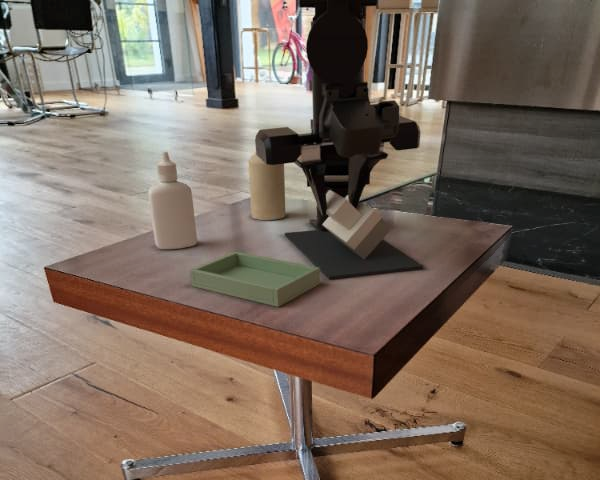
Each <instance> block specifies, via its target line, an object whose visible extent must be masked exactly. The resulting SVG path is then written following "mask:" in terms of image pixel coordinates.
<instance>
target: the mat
mask: <svg viewBox="0 0 600 480" xmlns="http://www.w3.org/2000/svg"><path fill="white" fill-rule="evenodd" d="M284 237H285V238H287V239H288V241H289V242H290V243H292V245H294V246H295V248H297V249H298V250H299V252H301V253H302V254H303V255H304V256H305V257H306V258H307V259H308V260H309V261H310V262H311V264H313V265H314V267H318V268H320V273H322V274H323V275H324V276H325V277H326V278H327V280H338V279H345V278H346V279H347V278H355V277H363V276H371V275H380V274H388V273H389V274H390V273H398V272H407V271H415V270H423V269H424V265H423V264H422V263H420V262H419V261H417V260H415V259H414V258H412V257H411V256H409V255H408V254H406V253H405V252H403V251H402V250H400V249H399V248H397V247H395V246H394V245H393V244H391V243H389V242H387V240H385V239H384V238H383V239H382V240H381V242H380V243H379V244H378V245H377V246H376V247H375V248H374V249H373V251H372V252H371V253H370V254H369V255H368V256H367V257H366V259H365V260H364V259H362V258H361V257H360V256H358V255H357V254H356V253H354V252H353V251H352V250H350V249H349V248H348V247H347V246H345V245H344V244H343V243H341V242H340V241H339V240H338V239H337V238H336V237H335V236H334V235H332V234H331V233H330V232H329V231H320V230H317V229H314V230H313V229H311V230H302V231H301V230H300V231H291V232H284Z"/></svg>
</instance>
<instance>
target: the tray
mask: <svg viewBox="0 0 600 480" xmlns="http://www.w3.org/2000/svg"><path fill="white" fill-rule="evenodd" d="M189 277H190V285H191V287H194V288H199V289H203V290H206V291H210V292H215V293H218V294H219V293H220V294H223V295H226V296H231V297H235V298H239V299H244V300H247V301H251V302H256V303H260V304H264V305H268V306H273V307H276V308H280V307H281V306H283V305H285V304H286V303H289V302H290V301H291V300H294V299H295V298H298V297H300V296H301V295H303V294H305V293H307V292H308V291H310V290H312V289H314V288H315V287H317V286H319V285H321V271H320V268H318V267H316V266H312V265H307V264H302V263H297V262H292V261H286V260H281V259H276V258H272V257H271V258H270V257H266V256H261V255H257V254H250V253H245V252H240V251H234V252H231V253H228V254H226V255H224V256H221V257H218V258H216V259H213V260H211V261H209V262H206V263H204V264H201V265H198V266H196V267H194V268H191V269H189Z"/></svg>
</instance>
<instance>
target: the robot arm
mask: <svg viewBox="0 0 600 480" xmlns="http://www.w3.org/2000/svg"><path fill="white" fill-rule="evenodd" d="M298 6H299V7H298V8H299V9H307V8H308V9H309V8H312V9H313V8H314V15H313V17H312V18H311V19H312V21H310V29H309V31H308V34H307V39H306V45H305V51H306V58H307V61H308V63H309V64H308V65H309V67H310V68H311V79H309V80H308V81H309V91H311V93H312V95H311V96H312V98H311V99H312V119H310V130H311V131H310V132H305V133H297V132H296V131H294V130H293V129H291V128H290V127H289V126H283V127H273V128H264V129H259V130H258V132H257V133H256V135H255V139H254V142H255V143H254V144H255V152H256V155H257V156H258V157H259V158H260V159H261V160H262V161H263V162H265V163H266V164H267V165H277V164H284V165H287V164H293V163H294V164H295V165H296V166H297V167H299V169H301V170H302V172H303V174H304V176H305V177H306V187H307V188H310V189H311V192H312V195H313V198H314V200H315V202H316V218H315V219H314V218H313V219H309V224H310V225H311V226H312V227H314V229H315V230H320V231H328V230H327V229H326V228H325V227H324V226H323V225H322V224H323V223H324V222H325V221H326V220H327V218H328V217H329V216H328V215H327V214H326V211H327V201H326V193H327V192H328V191H329V190H331V191H333V192H334V193H336V194H338V195H340V196H341V197H343V198H345V197H346V196H347V195H348V199H349V202H350V203H351V204H352V206H353V207H354V208H355V209H356V208H357V205H358V203H359V202H360V200H361V196H362V195H363V192H364V188H366V186H367V185H370V183H371V172H372V170H373V169H374V167H376V165H377V164H378V163H379V162H380V161H382V160H386V159H387V158H388V157H389V153H387V152H386V151H384V147H385V143H389V145H390V146H391V147H392V148H393V149H394V150H395V151H397V152H398V151H406V150H415V149H418V148H420V144H421V129H420V125H419V124H418V122H417V121H416V120H414V119H410V118H408V117H405V116H402V115H400V105H399V104H398V103H397V101H396V100H382V101H378V103H373V104H371V101H370V97H369V91H370V89H369V85H368V84H369V82H368V81H365V80H364V78H365V61H366V59H367V56H368V49H369V41H368V36H367V32H366V19H365V18H364V15H363V14H362V7H377V6H378V0H298Z"/></svg>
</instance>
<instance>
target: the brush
mask: <svg viewBox="0 0 600 480" xmlns="http://www.w3.org/2000/svg"><path fill="white" fill-rule="evenodd" d="M326 201H327V211H326V214H327V215H328V216H329V217H328V218H327V220H326V221H325V222H324V223H323V224H322V225H323V226H324V227H325V228H326V229H327V230H328V231H329V232H330V233H331V234H332V235H334V236H335V237H336V238H337V239H338V240H339V241H340V242H341V243H343V244H344V245H345V246H347V247H348V248H349V249H350V250H352V251H353V252H354V253H356V254H357V255H358V256H360V257H361V258H362V259H364V260H365V259H366V257H367V256H368V255H369V254H370V253H371V252H372V251H373V249H374V248H375V247H376V246H377V245H378V244H379V243H380V242H381V240H382V239H383V240H384V239H385V237H386V236H387V235H388V234H389V233H390V232H391V230H392V229H393V228H392V227H391V226H390V225H389V224H388V222H387V221H386V220H384V219H383V217H382V216H381V215H380V214H379V213H378V212H377V211H376V210H375V209H373V208H372V207H370V206H368V205H366V204H365V203H363V202H361V201H359V203H358V205H357V208H356V209H355V208H354V207H353V206H352V204H351V203H350V202H349V199H348V195H347V196H346V197H345V198H343V197H341V196H340V195H338V194H336V193H334V192H333V191H331V190H329V191H328V192H327V193H326Z"/></svg>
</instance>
